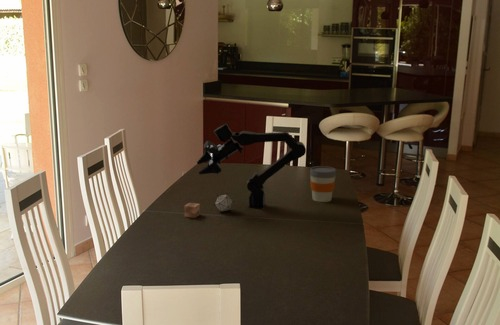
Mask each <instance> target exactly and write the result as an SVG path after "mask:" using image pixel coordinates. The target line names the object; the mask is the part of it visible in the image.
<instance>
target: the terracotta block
mask: <svg viewBox="0 0 500 325" xmlns="http://www.w3.org/2000/svg"><path fill="white" fill-rule="evenodd" d="M200 204H201V203H197V202H188V203H187V204H185V205H184V207H183V209H184V217H185V218H191V219H196V218H197V217H198V216H200V215H201V213H200V212H201V211H200V210H201V206H200Z"/></svg>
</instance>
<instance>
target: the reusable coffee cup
mask: <svg viewBox="0 0 500 325" xmlns="http://www.w3.org/2000/svg"><path fill="white" fill-rule="evenodd" d="M309 176H310V180H309V183H310V184H309V186H310V190H311V195H312V196H311V197H312V200H313V201H315V202H318V203H328V202H331V201H332V198H333V191H335V185H336V177H337V169H336V168H334V167H332V166H325V165H317V166H312V167H311V168H310V171H309Z"/></svg>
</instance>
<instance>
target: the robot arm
mask: <svg viewBox="0 0 500 325" xmlns="http://www.w3.org/2000/svg"><path fill="white" fill-rule="evenodd" d="M213 133H214V134H215V135H216V137H217V139H218V140H219V141H220V142H222V143H223V144H222V145H221V144H218V145H217V144H215V143H213V142H212V141H210V140H208V139H207V140H206V141H205V143H204V144H203V146H202V147H203V150H204V153H203V155H202V156H201V157H200V158H199V159H198V160H197V162H196V163H197V165H201V164H203V163H206V162H207V164H206V166H204V167H203V168H202V169H201V170H200V171H198V174H199V175H207V174H214V175H215V174H216V175H219V174H220V173H222V167H221V165H220V164H222V161H224V160H225V159H226V160H228V159H230V157H229V156H231V155H233V154H234V153H235V152H237V151H238V153H239V154H242V153H243V148H244V146H245V147H246V146H250V145H255V144H257V143H274V142H278V143H279V142H284V143H285V144H286V145H287V147H288V149H287V151H286V152H285V154H283V155H282V156H281V157H280V158H278V159H277V160H275V161H274V162H273V163H271V165H269V166H268V167H267V168H265V169H264V170H263V171H261V172H259V173H258V172H257V171H255V172H254V173H253V174H251V175H249V178H248V179H247V181H246V182H247V183H246V188H247V190H248V191H249V192H250V194H249V196H248V208H251V209H261V210H262V209H264V208H265V206H266V205H267V203H266V193H265V186H264V184H265V183H266V181H267V180H269V179H270V178H271V177H273V176H274V175H275V174H277V173H278V172H279V171H281V169H282V168H284V167H285V166H287V165H288V164H289V163H290V162H292V161H293V162H294V161H297V159H300V158H301V157H303V156H305V155H306V151H307V148H306V146H305V143H303V142H301V141H298V140H297V139H296V138H295V137H293V136H292V135H291V134H290V133H289V132H288V131H278V132H277V131H275V132H274V131H273V132H254V131H249V130H242V131H240V132H235V131H232V130H231V129H230V127H229V125H228V123H224V124H223V125H220V126H219V127H217V128H216V129H215V130H214V131H213Z"/></svg>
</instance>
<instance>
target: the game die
mask: <svg viewBox="0 0 500 325" xmlns="http://www.w3.org/2000/svg"><path fill="white" fill-rule="evenodd" d="M216 196H217V198H216V200H215V203H214V204H212V205H213V206H215V207H216V208H217V209H218V210H219V211H220V212H219V213H220V214H222V212H225V211H226V212H227V211H229V212H231V207H232V205H233V202H235V200H233V199H232V198H231V197H230V196H229V195H228V192H227V193H226V194H222V195H219V194H216Z"/></svg>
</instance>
